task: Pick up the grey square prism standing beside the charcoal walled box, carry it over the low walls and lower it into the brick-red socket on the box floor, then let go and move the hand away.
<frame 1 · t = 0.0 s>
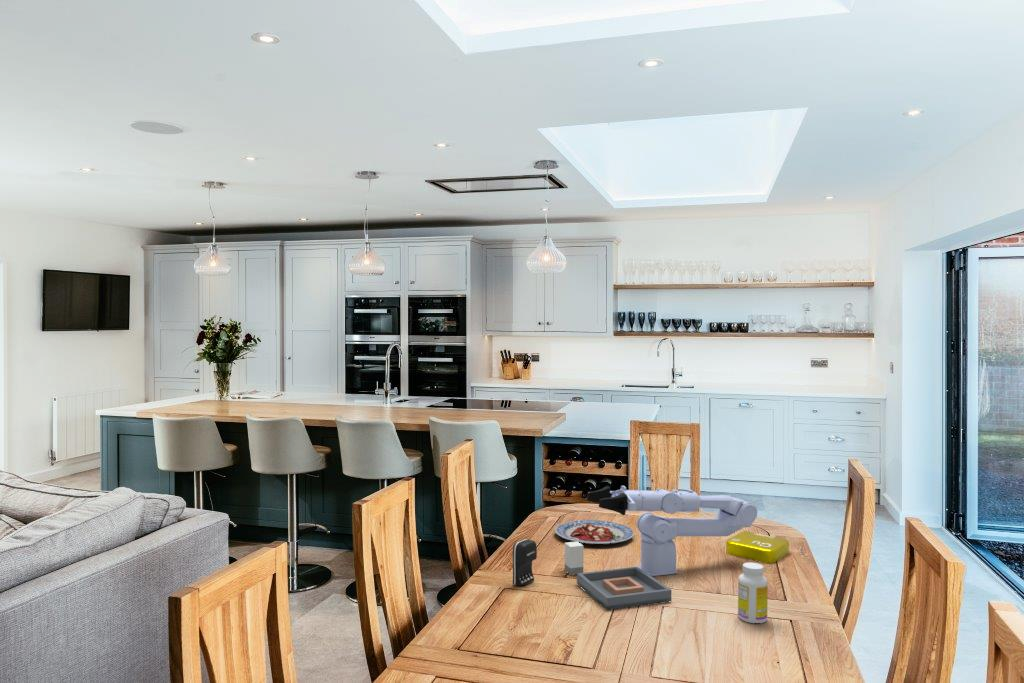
hand: (593, 499, 196), 22 cm above the table, tool horizontal, fingers open, 7 cm apart
supplement bottle: (752, 619, 171), on the table
element tile: (757, 554, 220), on the table
walled box: (622, 592, 187), on the table
battery charger: (525, 584, 193), on the table
ceramic plate: (594, 537, 236), on the table
grey square prism: (573, 572, 202), on the table
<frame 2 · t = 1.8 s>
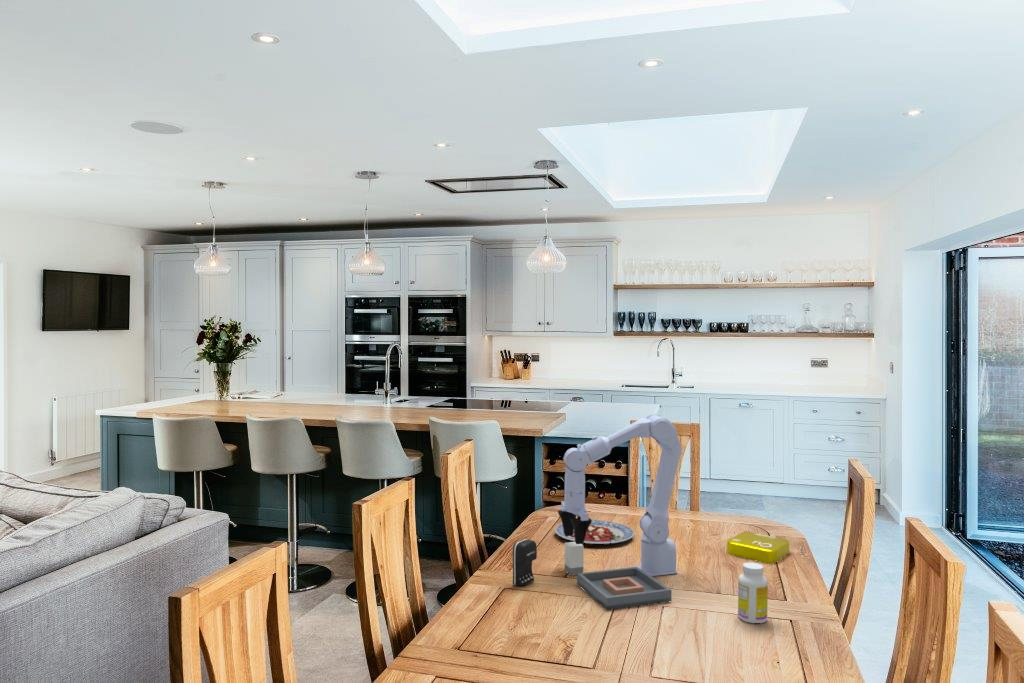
hand: (574, 539, 201), 9 cm above the table, tool pointing down, fingers open, 7 cm apart
nothing on the table moved.
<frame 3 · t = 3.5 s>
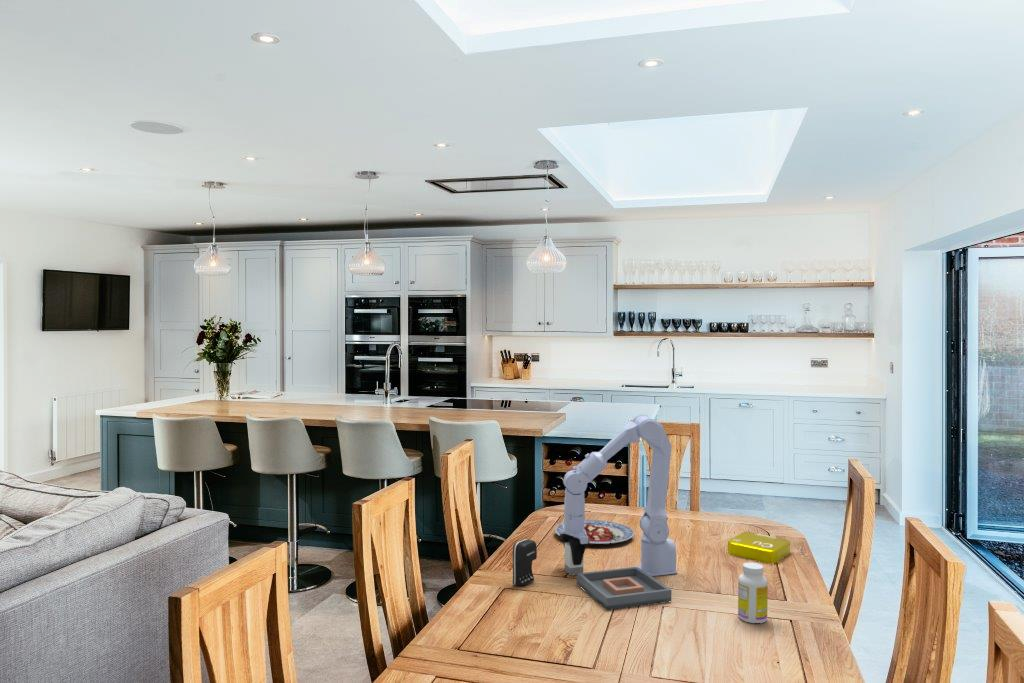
hand: (573, 561, 202), 3 cm above the table, tool pointing down, fingers closed on grey square prism, 4 cm apart
grey square prism: (573, 572, 202), on the table, touching gripper
everything else where it was.
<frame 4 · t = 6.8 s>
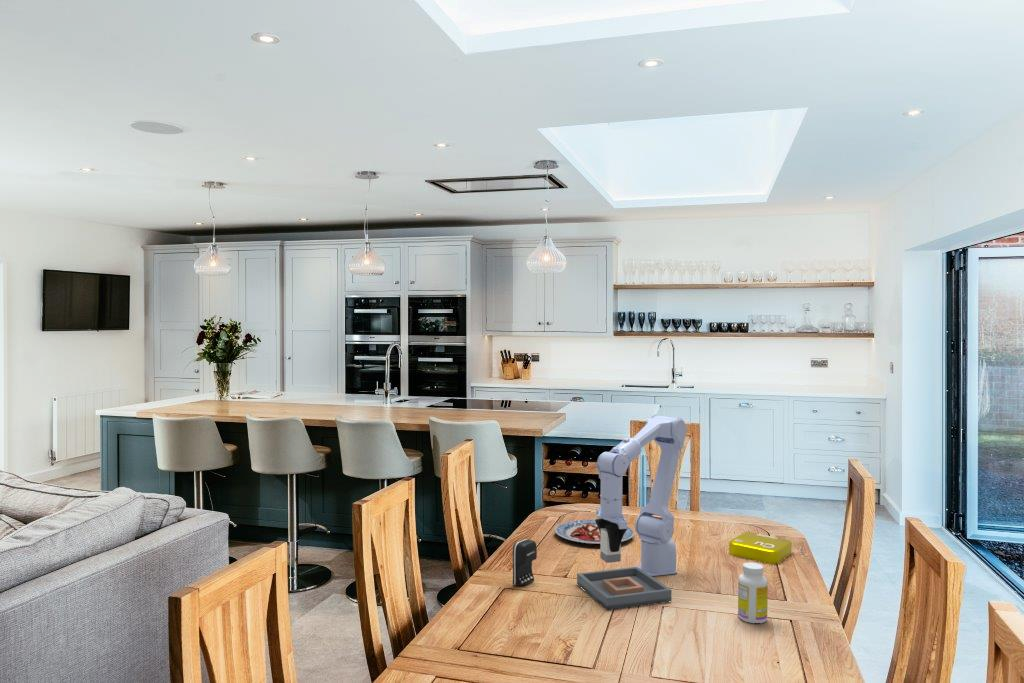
hand: (610, 548, 190), 10 cm above the table, tool pointing down, fingers closed on grey square prism, 4 cm apart
grey square prism: (610, 559, 190), point 7 cm above the table, touching gripper
everything else where it was.
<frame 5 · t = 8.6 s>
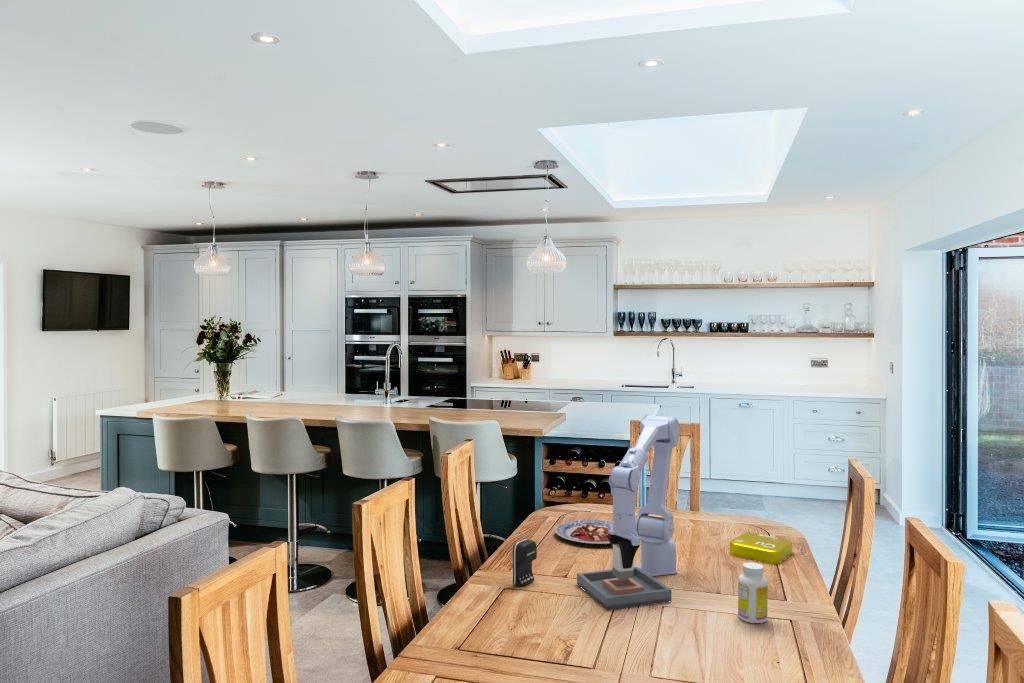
hand: (623, 565, 186), 7 cm above the table, tool pointing down, fingers closed on grey square prism, 4 cm apart
grey square prism: (622, 576, 186), point 4 cm above the table, touching gripper
when the fingers open (5 cm above the table, at t = 10.0 s): grey square prism stays where it is, resting on walled box.
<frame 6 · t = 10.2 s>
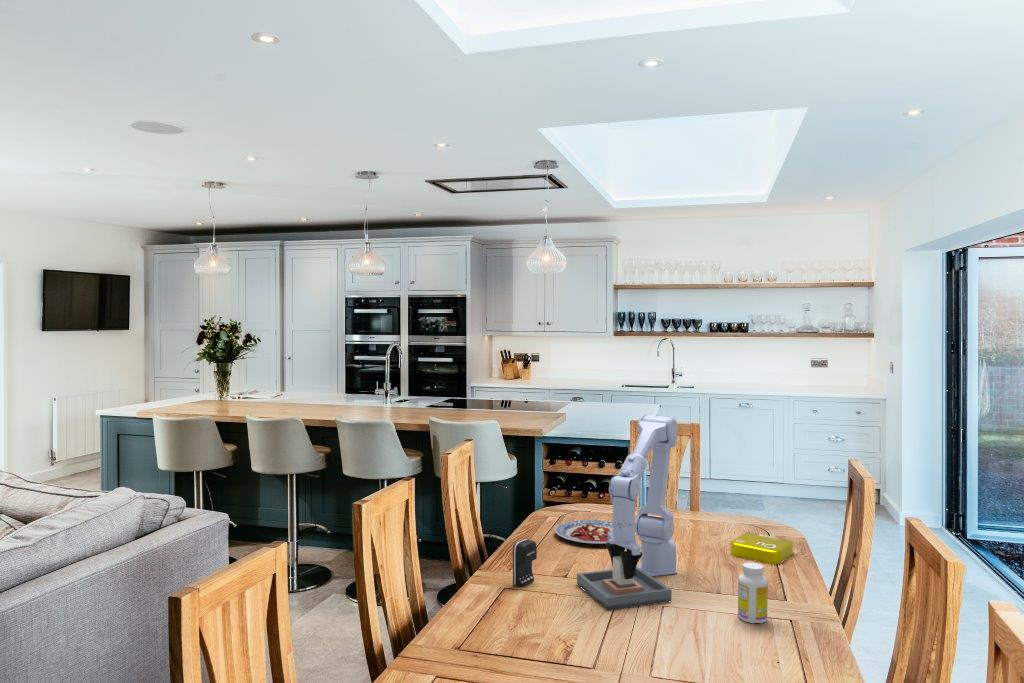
hand: (623, 574, 186), 5 cm above the table, tool pointing down, fingers open, 6 cm apart
grey square prism: (622, 589, 186), point 1 cm above the table, touching walled box
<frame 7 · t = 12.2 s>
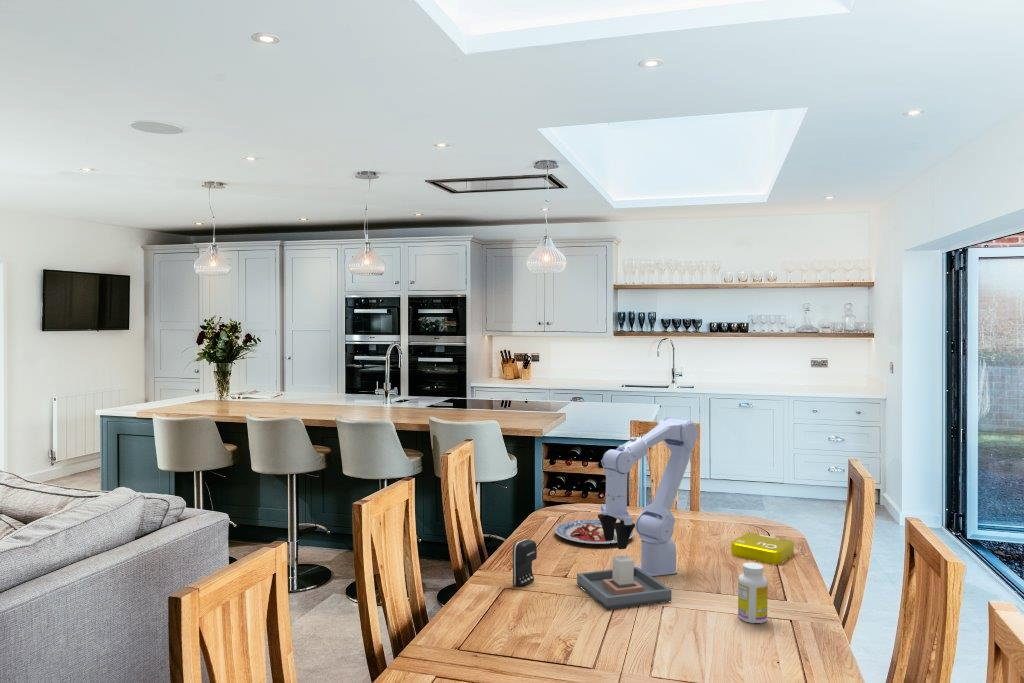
hand: (615, 544, 194), 10 cm above the table, tool pointing down, fingers open, 7 cm apart
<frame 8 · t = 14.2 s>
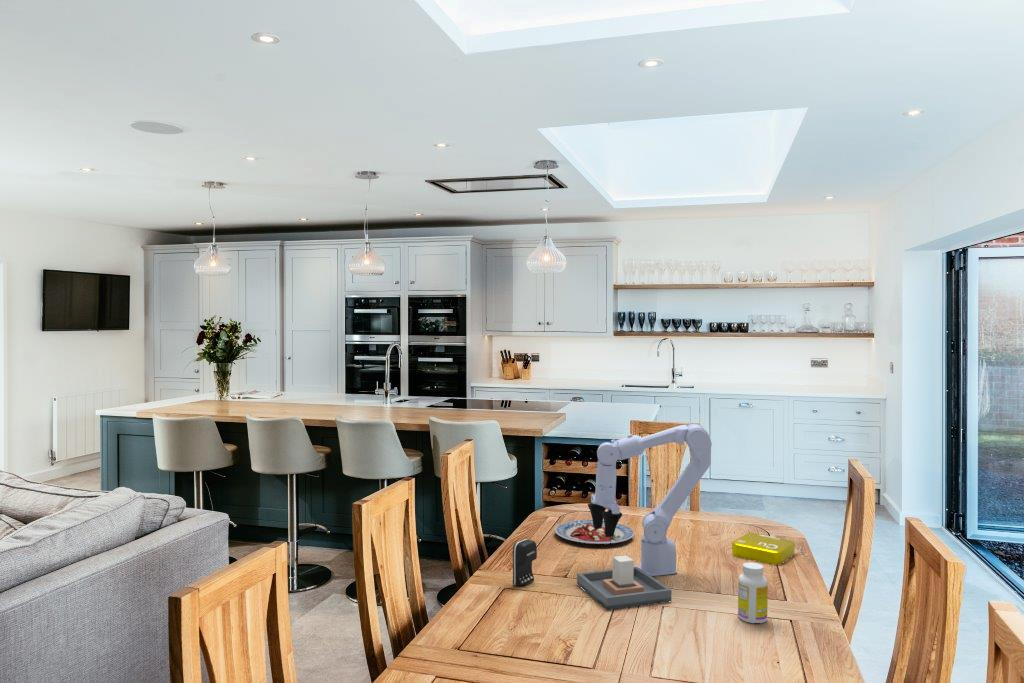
hand: (603, 532, 205), 10 cm above the table, tool pointing down, fingers open, 7 cm apart
at the end: grey square prism 0.0 cm off-centre on the walled box, point 1.0 cm above the walled box's base; grey square prism tilted 0°; the gripper is holding nothing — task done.
